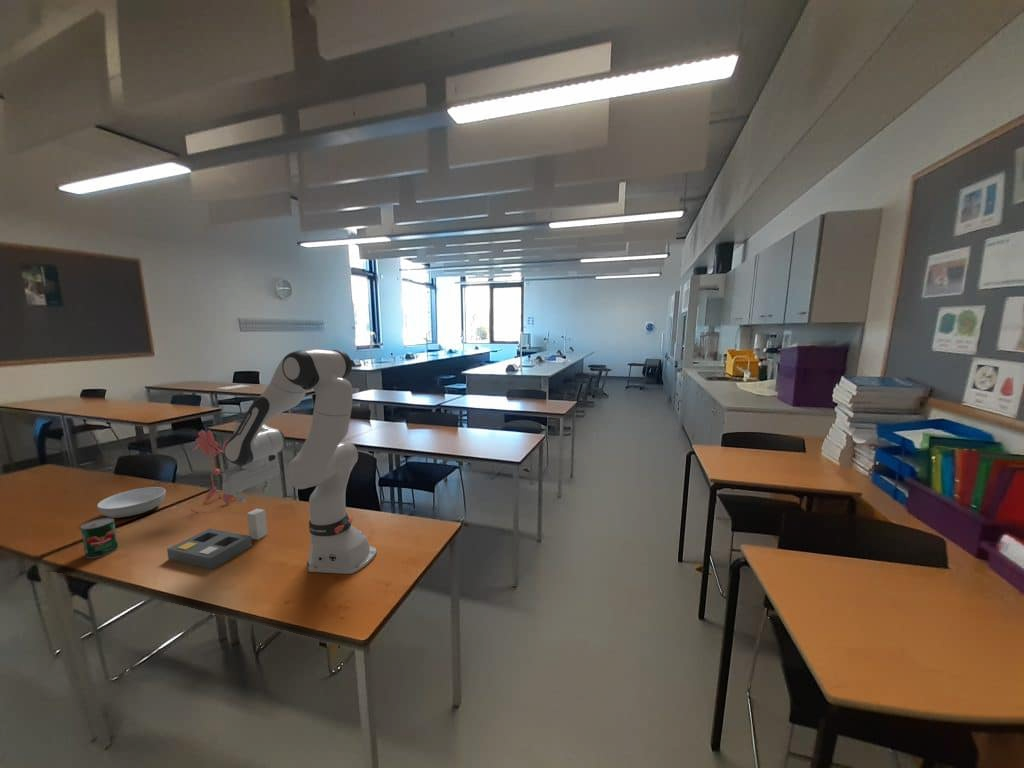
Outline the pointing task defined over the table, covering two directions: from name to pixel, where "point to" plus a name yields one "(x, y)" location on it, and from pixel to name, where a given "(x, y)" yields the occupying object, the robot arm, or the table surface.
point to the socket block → (209, 548)
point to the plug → (257, 523)
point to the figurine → (209, 445)
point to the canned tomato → (99, 537)
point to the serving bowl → (132, 502)
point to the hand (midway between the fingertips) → (253, 496)
